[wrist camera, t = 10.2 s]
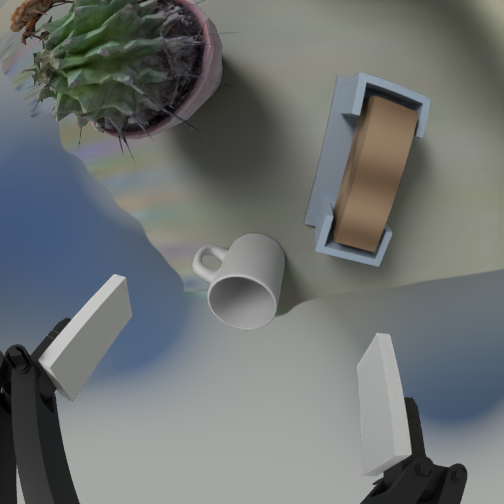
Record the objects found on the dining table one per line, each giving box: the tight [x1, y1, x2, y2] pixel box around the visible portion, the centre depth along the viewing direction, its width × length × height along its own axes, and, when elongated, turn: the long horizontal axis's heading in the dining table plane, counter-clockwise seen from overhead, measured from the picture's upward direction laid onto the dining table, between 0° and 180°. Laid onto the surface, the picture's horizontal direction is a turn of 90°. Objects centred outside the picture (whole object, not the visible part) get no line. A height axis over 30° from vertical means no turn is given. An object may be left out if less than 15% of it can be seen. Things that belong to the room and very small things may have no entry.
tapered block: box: [331, 96, 419, 252], centre depth 26 cm, size 15×4×6 cm, turn 170°
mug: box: [193, 233, 285, 330], centre depth 37 cm, size 12×8×11 cm
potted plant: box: [10, 0, 237, 165], centre depth 19 cm, size 18×20×25 cm
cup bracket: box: [304, 72, 431, 267], centre depth 28 cm, size 20×10×9 cm, turn 171°
